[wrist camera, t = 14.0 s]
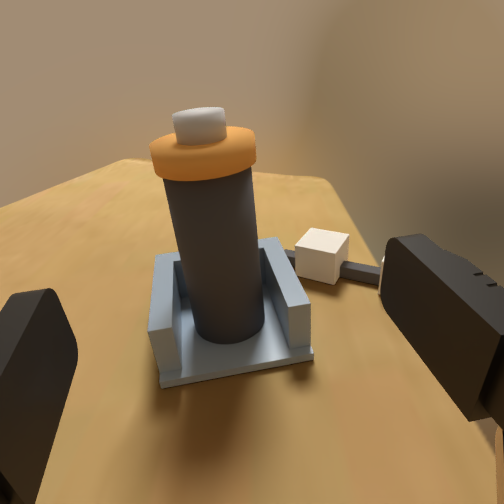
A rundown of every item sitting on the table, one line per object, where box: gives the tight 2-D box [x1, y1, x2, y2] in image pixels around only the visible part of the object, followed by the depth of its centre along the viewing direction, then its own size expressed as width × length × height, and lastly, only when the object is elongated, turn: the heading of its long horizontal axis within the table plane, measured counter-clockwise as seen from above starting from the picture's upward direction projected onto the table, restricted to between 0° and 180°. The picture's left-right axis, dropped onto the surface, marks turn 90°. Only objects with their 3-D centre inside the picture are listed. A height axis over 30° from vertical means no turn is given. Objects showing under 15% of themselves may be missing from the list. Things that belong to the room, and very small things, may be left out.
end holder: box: [148, 237, 314, 389], centre depth 23 cm, size 8×8×4 cm
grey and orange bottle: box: [149, 107, 265, 344], centre depth 20 cm, size 5×5×12 cm
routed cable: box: [284, 228, 385, 294], centre depth 26 cm, size 15×7×3 cm, turn 60°
